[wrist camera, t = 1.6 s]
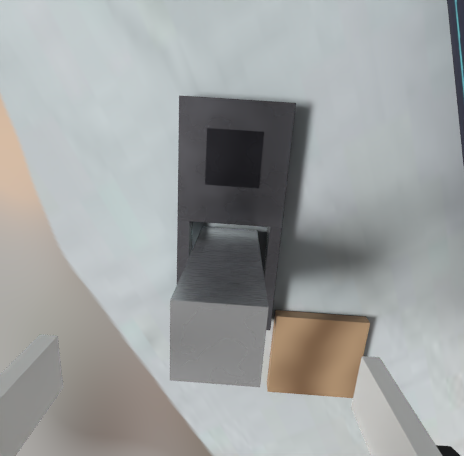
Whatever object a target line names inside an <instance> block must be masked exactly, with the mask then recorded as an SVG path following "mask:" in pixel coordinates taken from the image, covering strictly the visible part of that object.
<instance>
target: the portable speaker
mask: <svg viewBox="0 0 464 456" xmlns="http://www.w3.org/2000/svg"><path fill="white" fill-rule="evenodd" d="M447 4H448V14H449V24H450V34H451V44H452V54H453V64H454V74H455V84H456V94H457V104H458V114H459V124H460V134H461V144H462V154H463V164H464V0H447Z"/></svg>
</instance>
